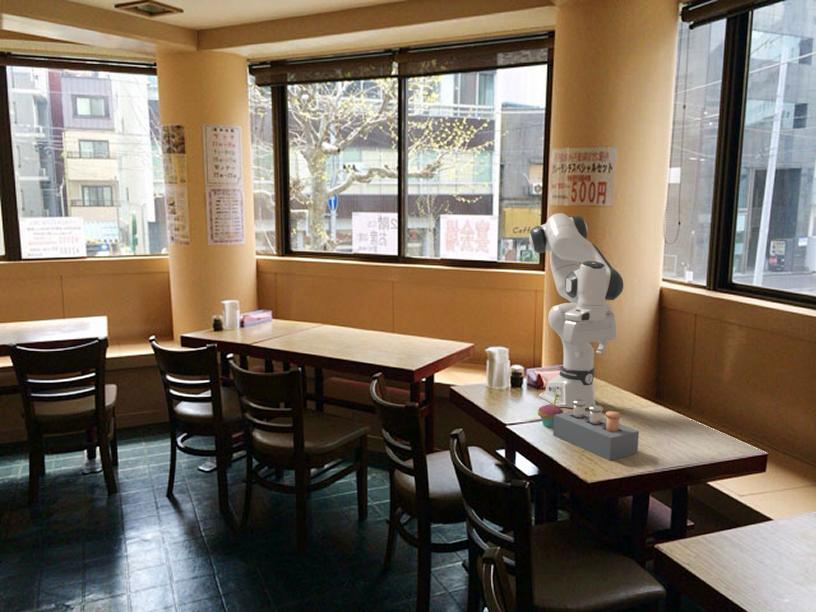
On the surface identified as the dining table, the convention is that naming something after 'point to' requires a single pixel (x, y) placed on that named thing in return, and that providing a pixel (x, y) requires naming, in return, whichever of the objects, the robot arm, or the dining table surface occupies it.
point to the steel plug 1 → (579, 408)
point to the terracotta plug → (612, 421)
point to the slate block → (596, 436)
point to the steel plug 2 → (595, 414)
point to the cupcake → (549, 413)
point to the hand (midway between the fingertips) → (589, 355)
